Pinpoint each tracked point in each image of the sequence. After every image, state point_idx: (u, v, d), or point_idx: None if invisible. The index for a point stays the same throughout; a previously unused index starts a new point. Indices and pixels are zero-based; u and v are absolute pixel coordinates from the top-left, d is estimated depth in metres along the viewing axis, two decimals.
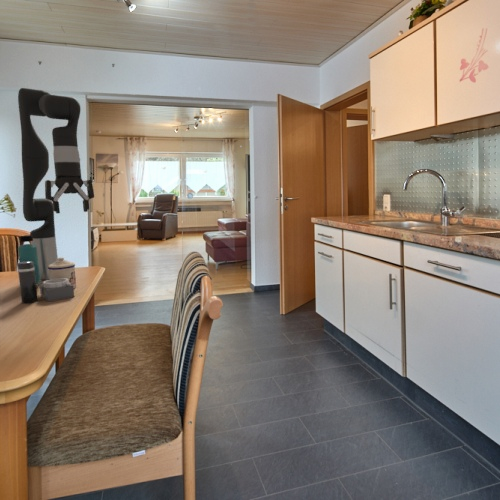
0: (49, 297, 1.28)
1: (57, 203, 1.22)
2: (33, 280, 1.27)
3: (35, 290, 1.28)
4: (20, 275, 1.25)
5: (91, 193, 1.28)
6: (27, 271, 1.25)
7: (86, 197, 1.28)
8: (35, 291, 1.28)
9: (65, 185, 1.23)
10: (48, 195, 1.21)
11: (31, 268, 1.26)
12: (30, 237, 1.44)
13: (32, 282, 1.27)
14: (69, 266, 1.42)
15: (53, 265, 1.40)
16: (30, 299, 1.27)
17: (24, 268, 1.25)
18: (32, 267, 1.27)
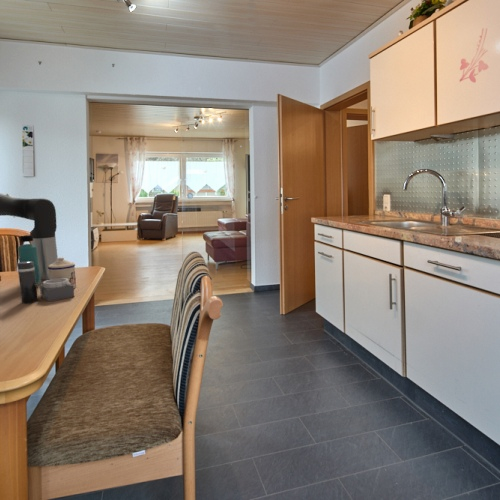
0: (49, 297, 1.28)
1: None
2: (33, 280, 1.27)
3: (35, 290, 1.28)
4: (20, 275, 1.25)
5: None
6: (27, 271, 1.25)
7: None
8: (35, 291, 1.28)
9: None
10: None
11: (31, 268, 1.26)
12: (30, 237, 1.44)
13: (32, 282, 1.27)
14: (69, 266, 1.42)
15: (53, 265, 1.40)
16: (30, 299, 1.27)
17: (24, 268, 1.25)
18: (32, 267, 1.27)
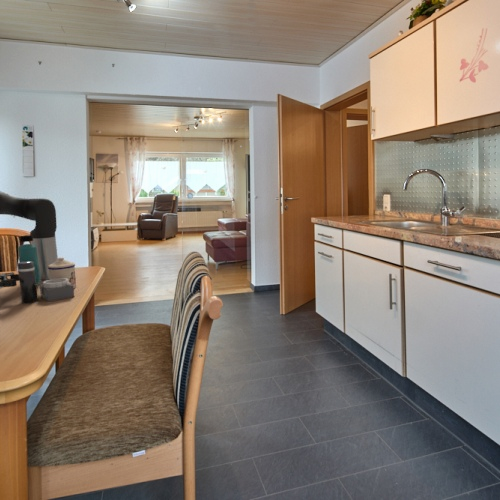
0: (49, 297, 1.28)
1: None
2: (33, 280, 1.27)
3: (35, 290, 1.28)
4: (20, 275, 1.25)
5: None
6: (27, 271, 1.25)
7: None
8: (35, 291, 1.28)
9: None
10: None
11: (31, 268, 1.26)
12: (30, 237, 1.44)
13: (32, 282, 1.27)
14: (69, 266, 1.42)
15: (53, 265, 1.40)
16: (30, 299, 1.27)
17: (24, 268, 1.25)
18: (32, 267, 1.27)
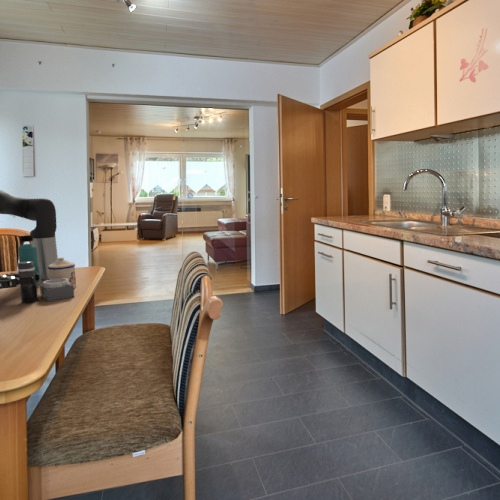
0: (49, 297, 1.28)
1: None
2: None
3: (35, 290, 1.28)
4: (20, 275, 1.25)
5: None
6: (27, 271, 1.25)
7: None
8: (35, 291, 1.28)
9: None
10: None
11: (31, 268, 1.26)
12: (30, 237, 1.44)
13: None
14: (69, 266, 1.42)
15: (53, 265, 1.40)
16: (31, 299, 1.27)
17: (24, 268, 1.25)
18: (32, 267, 1.27)
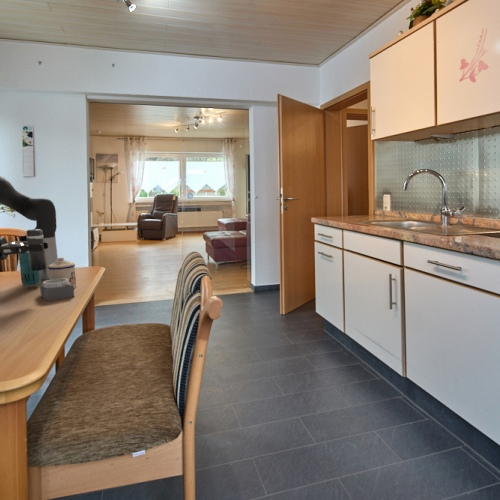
0: (49, 297, 1.28)
1: None
2: None
3: (44, 258, 1.29)
4: (29, 242, 1.26)
5: None
6: (36, 238, 1.26)
7: None
8: (44, 258, 1.29)
9: None
10: None
11: (40, 235, 1.27)
12: None
13: None
14: (69, 266, 1.42)
15: (53, 265, 1.40)
16: (39, 266, 1.27)
17: (33, 235, 1.25)
18: (41, 234, 1.27)
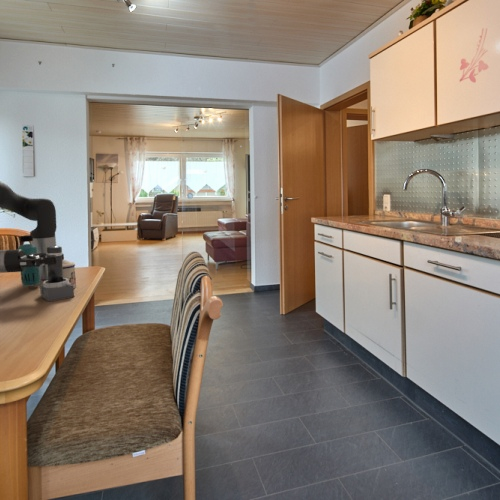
0: (49, 297, 1.28)
1: None
2: (60, 264, 1.32)
3: (62, 274, 1.33)
4: None
5: None
6: (55, 255, 1.30)
7: None
8: (62, 275, 1.33)
9: None
10: None
11: (59, 252, 1.31)
12: (30, 237, 1.44)
13: (60, 266, 1.32)
14: (69, 266, 1.42)
15: None
16: (57, 282, 1.31)
17: (53, 252, 1.29)
18: (60, 252, 1.31)
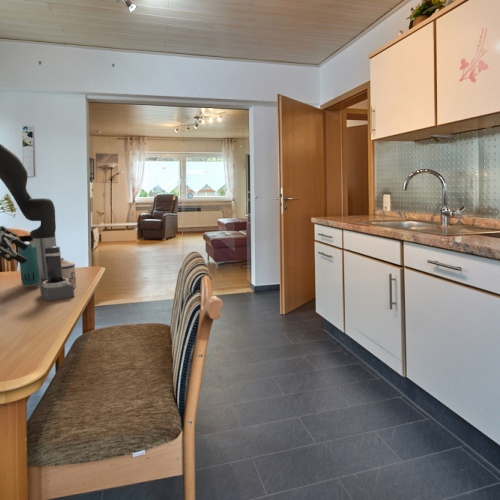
0: (49, 297, 1.28)
1: None
2: (59, 264, 1.32)
3: (61, 274, 1.33)
4: (47, 259, 1.30)
5: None
6: (54, 255, 1.30)
7: None
8: (61, 275, 1.33)
9: None
10: None
11: (57, 252, 1.31)
12: (30, 237, 1.44)
13: (59, 266, 1.32)
14: (69, 266, 1.42)
15: None
16: (57, 282, 1.31)
17: (51, 252, 1.29)
18: (58, 252, 1.31)
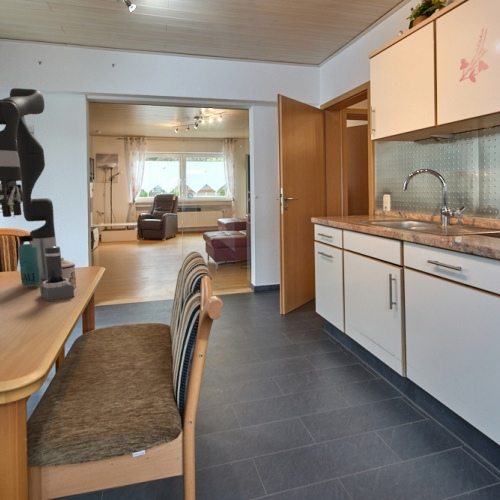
0: (49, 297, 1.28)
1: None
2: (59, 264, 1.32)
3: (61, 274, 1.33)
4: (47, 259, 1.30)
5: None
6: (54, 255, 1.30)
7: None
8: (61, 275, 1.33)
9: None
10: None
11: (58, 252, 1.31)
12: (30, 237, 1.44)
13: (59, 266, 1.31)
14: (69, 266, 1.42)
15: None
16: (57, 282, 1.31)
17: (51, 252, 1.29)
18: (59, 252, 1.31)
